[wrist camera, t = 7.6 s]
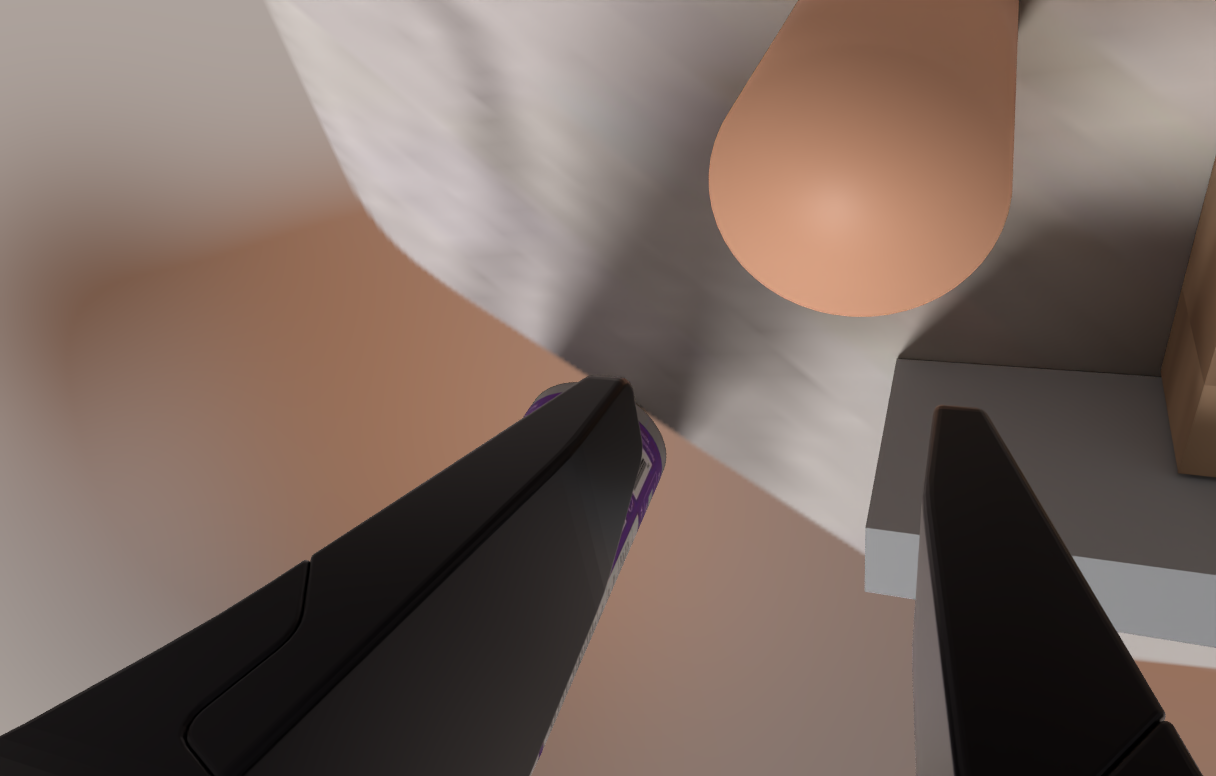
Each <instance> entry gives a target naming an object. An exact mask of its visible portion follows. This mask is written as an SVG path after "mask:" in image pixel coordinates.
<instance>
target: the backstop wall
mask: <svg viewBox="0 0 1216 776" xmlns="http://www.w3.org/2000/svg"><path fill="white" fill-rule="evenodd" d="M939 405H952V406H964V407H976V408H980V409H982V410H984V411H985V412H986V413H987V415H988V416H989V417H990V419H991V421H992V423H993V424H994V426H995V428H996V429H997V431H998V433H999V434H1000V436H1001V438H1002V439H1003V441H1004V443H1005V444H1006V446H1007V448H1008V449H1009V451H1010V453H1011V454H1012V456H1013V458H1014V460H1015V461H1016V463H1017V465H1018V466H1019V468H1020V470H1021V471H1022V473H1023V475H1024V476H1025V478H1026V480H1027V481H1028V483H1029V485H1030V486H1031V488H1032V490H1033V491H1034V493H1035V495H1036V497H1037V498H1038V500H1039V502H1040V503H1041V505H1042V507H1043V508H1044V510H1045V512H1046V513H1047V515H1048V517H1049V518H1050V520H1051V522H1052V523H1053V525H1054V527H1055V529H1056V530H1057V532H1058V534H1059V535H1060V537H1061V539H1062V540H1063V542H1064V544H1065V545H1066V547H1067V549H1068V550H1069V552H1070V554H1071V555H1072V557H1073V559H1074V560H1075V562H1076V564H1077V566H1078V567H1079V569H1080V571H1081V572H1082V574H1083V576H1084V577H1085V579H1086V581H1087V582H1088V584H1089V586H1090V587H1091V589H1092V591H1093V592H1094V594H1095V596H1096V597H1097V599H1098V601H1099V603H1100V604H1101V606H1102V608H1103V609H1104V611H1105V613H1106V614H1107V616H1108V618H1109V619H1110V621H1111V623H1112V624H1113V626H1114V628H1115V629H1116V631H1117V632H1121V633H1127V634H1133V635H1139V636H1146V637H1152V638H1158V639H1164V640H1171V641H1177V642H1183V643H1189V644H1195V645H1202V646H1208V647H1214V648H1216V477H1209V476H1199V475H1190V474H1180V473H1178V469H1177V463H1176V458H1175V452H1174V446H1173V440H1172V434H1171V429H1170V423H1169V417H1168V411H1167V406H1166V400H1165V394H1164V388H1163V382H1162V377H1152V376H1138V375H1124V374H1109V373H1095V372H1081V371H1066V370H1052V369H1037V368H1023V367H1009V366H994V365H980V364H966V363H951V362H937V361H922V360H908V359H897V360H896V365H895V371H894V376H893V382H892V387H891V393H890V398H889V403H888V409H887V414H886V420H885V425H884V431H883V436H882V441H881V447H880V452H879V458H878V463H877V469H876V474H875V479H874V485H873V490H872V496H871V501H870V507H869V512H868V517H867V523H866V537H865V592H871V593H878V594H884V595H890V596H896V597H902V598H910V599H916V584H917V569H918V553H919V538H920V522H921V507H922V492H923V480H924V473H925V466H926V458H927V451H928V444H929V436H930V429H931V422H932V414H933V411H934V409H935V408H936V407H937V406H939Z"/></svg>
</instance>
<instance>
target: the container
mask: <svg viewBox="0 0 1216 776" xmlns="http://www.w3.org/2000/svg"><path fill="white" fill-rule="evenodd" d="M576 383H578V382H573V383H564V384H559V385H556V386H553V387H551V388H549V389H547V390H546V391H544V392H542V393H541V394H540V395H539V396H538V397H537V398H536V399H535V401H534V402H533V404H532V405H531V407H530V408H529V409H528V411H527V412H526V414H525V416H527V415H529V414H530V413H532V412H533V411H535V410H536V409H538V408H539V407H541V406H542V405H544V404H545V403H547V402H549V401H550V400H552V399H553V398H555V397H556V396H558V395H559V394H561V393H562V392H564V391H565V390H567V389H568V388H570V387H572V386H573V385H575V384H576ZM636 409H637V414H638V420H639V425H640V431H641V436H642V447H643V450H642V459H641V464H640V468H639V472H638V476H637V479H636V483H635V486H634V490H633V494H632V497H631V501H630V505H629V508H628V512H627V515H626V519H625V523H624V526H623V530H622V533H621V537H620V541H619V544H618V548H617V551H616V555H615V559H614V562H613V566H612V570H611V573H610V576H609V580H608V583H607V586H606V589H605V592H604V595H603V598H602V600H601V603H600V606H599V608H598V611H597V614H596V616H595V618H594V621H593V623H592V626H591V628H590V631H589V633H588V635H587V638H586V640H585V643H584V645H583V648H582V650H581V653H580V655H579V657H578V660H577V662H576V665H575V667H574V670H573V672H572V674H571V677H570V679H569V682H568V684H567V687H566V689H565V691H564V694H563V696H562V699H561V701H560V704H559V706H558V708H557V711H556V713H555V716H554V718H553V721H552V723H551V725H550V728H549V730H548V733H547V735H546V738H545V740H544V743H543V745H542V747H541V750H540V752H539V755H538V757H537V760H536V762H535V764H534V767H533V769H532V772H533V770H534V768H535V766H536V764H537V761H538V760H539V757H540V755H541V753H542V750H543V748H544V746H545V743H546V741H547V739H548V737H549V734H550V732H551V730H552V727H553V725H554V723H555V720H556V718H557V716H558V713H559V711H560V709H561V706H562V704H563V702H564V700H565V697H566V695H567V693H568V690H569V688H570V686H571V683H572V681H573V679H574V676H575V674H576V672H577V670H578V667H579V665H580V663H581V660H582V658H583V655H584V653H585V651H586V649H587V647H588V644H589V642H590V640H591V637H592V635H593V633H594V630H595V628H596V626H597V623H598V621H599V619H600V616H601V614H602V612H603V610H604V607H605V605H606V603H607V600H608V598H609V596H610V593H611V591H612V589H613V586H614V584H615V582H616V580H617V577H618V575H619V573H620V570H621V568H622V566H623V563H624V561H625V559H626V556H627V554H628V552H629V549H630V547H631V545H632V542H633V540H634V538H635V536H636V533H637V531H638V529H639V526H640V524H641V522H642V519H643V517H644V515H645V512H646V510H647V508H648V506H649V503H650V501H651V499H652V496H653V494H654V492H655V489H656V487H657V485H658V483H659V480H660V477H661V475H662V472H663V470H664V467H665V463H666V448H665V444H664V441H663V438H662V436H661V433H660V431H659V430H658V428H657V426H656V425H655V423H654V422H653V421H652V419H651V418H650V417H649V416H648V415H647V414H646V413H645V411H644V410H642V409H641V408H640V407H639V406H638V405H636ZM525 416H524V417H525ZM524 417H523V418H524ZM532 772H531V774H532ZM531 774H530V776H531Z"/></svg>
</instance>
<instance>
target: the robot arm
mask: <svg viewBox="0 0 1216 776" xmlns="http://www.w3.org/2000/svg"><path fill="white" fill-rule="evenodd" d="M642 450H643V447H642V436H641V431H640V425H639V420H638V414H637V409H636V403H635V397H634V392H633V388H632V386H631V384H630V382H629V381H628V380H626V379H625V378H622V377H611V376H599V375H591V376H588V377H586V378H584V379H582V380H581V381H579V382H578V383H576V384H575V385H573V386H572V387H570V388H568V389H567V390H565V391H564V392H562V393H561V394H559V395H558V396H556V397H555V398H553V399H552V400H550V401H549V402H547V403H545V404H544V405H542V406H541V407H539V408H538V409H536V410H535V411H533V412H532V413H530V414H529V415H527V416H525V417H524V418H522V419H521V420H519V421H518V422H516V423H515V424H513V425H512V426H510V427H509V428H507V429H506V430H504V431H502V432H501V433H499V434H498V435H497V436H495V437H493V438H492V439H490V440H489V441H487V442H486V443H484V444H482V445H481V446H479V447H478V448H476V449H475V450H473V451H472V452H470V453H469V454H467V455H466V456H464V457H462V458H461V459H459V460H458V461H456V462H455V463H454V464H452V465H450V466H449V467H448V468H446V469H444V470H443V471H441V472H440V473H438V474H436V475H435V476H433V477H432V478H430V479H429V480H427V481H426V482H424V483H423V484H421V485H419V486H418V487H416V488H415V489H413V490H412V491H410V492H409V493H407V494H406V495H404V496H403V497H401V498H400V499H398V500H397V501H395V502H393V503H392V504H390V505H389V506H387V507H386V508H384V509H383V510H381V511H380V512H378V513H377V514H375V515H374V516H372V517H370V518H369V519H367V520H366V521H364V522H363V523H361V524H360V525H358V526H356V527H355V528H353V529H352V530H350V531H349V532H347V533H346V534H344V535H343V536H341V537H340V538H338V539H337V540H335V541H333V542H332V543H330V544H329V545H327V546H326V547H324V548H323V549H321V550H320V551H318V552H316V553H315V554H314V555H312V557H311V561H307V560H304V561H302V562H301V563H299V564H298V565H296V566H295V567H293V568H292V569H290V570H289V571H287V572H285V573H284V574H282V575H281V576H279V577H278V578H276V579H275V580H273V581H272V582H270V583H268V584H267V585H265V586H264V587H262V588H260V589H259V590H257V591H256V592H254V593H252V594H251V595H249V596H248V597H246V598H244V599H243V600H241V601H240V602H238V603H236V604H235V605H233V606H232V607H230V608H228V609H227V610H225V611H224V612H222V613H220V614H219V615H217V616H216V617H214V618H212V619H211V620H208V621H207V622H205V623H203V624H201V625H200V626H198V627H196V628H194V629H193V630H191V631H189V632H188V633H186V634H184V635H182V636H181V637H179V638H177V639H175V640H174V641H172V642H170V643H168V644H167V645H165V646H163V647H162V648H160V649H158V650H156V651H154V652H153V653H151V654H149V655H147V656H146V657H144V658H142V659H140V660H138V661H137V662H135V663H133V664H131V665H129V666H127V667H126V668H124V669H122V670H120V671H118V672H117V673H115V674H113V675H111V676H109V677H108V678H106V679H104V680H102V681H100V682H99V683H97V684H95V685H93V686H91V687H90V688H88V689H86V690H85V691H83V692H81V693H79V694H77V695H75V696H73V697H72V698H70V699H68V700H66V701H65V702H63V703H61V704H59V705H57V706H55V707H54V708H52V709H50V710H48V711H46V712H45V713H43V714H41V715H39V716H37V717H36V718H34V719H32V720H30V721H29V722H27V723H25V724H23V725H21V726H20V727H17V728H15V729H13V730H11V731H9V732H8V733H5V734H3V735H1V736H0V776H530V774H531V772H532V769H533V767H534V764H535V762H536V760H537V757H538V755H539V752H540V750H541V747H542V745H543V743H544V740H545V738H546V735H547V733H548V730H549V728H550V725H551V723H552V721H553V718H554V716H555V713H556V711H557V708H558V706H559V704H560V701H561V699H562V696H563V694H564V691H565V689H566V687H567V684H568V682H569V679H570V677H571V674H572V672H573V670H574V667H575V665H576V662H577V660H578V657H579V655H580V653H581V650H582V648H583V645H584V643H585V640H586V638H587V635H588V633H589V631H590V628H591V626H592V623H593V621H594V618H595V616H596V614H597V611H598V608H599V606H600V603H601V600H602V598H603V595H604V592H605V589H606V586H607V583H608V580H609V576H610V573H611V570H612V566H613V562H614V559H615V555H616V551H617V548H618V544H619V541H620V537H621V533H622V530H623V526H624V523H625V519H626V515H627V512H628V508H629V505H630V501H631V497H632V494H633V490H634V486H635V483H636V479H637V476H638V472H639V468H640V464H641V459H642ZM915 600H916V601H915V615H914V630H913V697H914V725H915V754H916V776H1203V775H1202V773H1201V772H1200V770H1199V768H1198V766H1197V765H1196V763H1195V761H1194V760H1193V758H1192V757H1191V755H1190V753H1189V751H1188V750H1187V748H1186V746H1185V745H1184V743H1183V741H1182V739H1181V738H1180V736H1179V734H1178V733H1177V731H1176V729H1175V728H1174V726H1173V725H1172V724H1171V723H1170V722H1168V721H1164V720H1165V712H1164V710H1163V709H1162V707H1161V705H1160V703H1159V702H1158V700H1157V698H1156V697H1155V695H1154V693H1153V692H1152V690H1151V688H1150V687H1149V685H1148V683H1147V682H1146V680H1145V678H1144V677H1143V675H1142V673H1141V671H1140V670H1139V668H1138V666H1137V665H1136V663H1135V661H1134V660H1133V658H1132V656H1131V655H1130V653H1129V651H1128V650H1127V648H1126V646H1125V645H1124V643H1123V641H1122V640H1121V638H1120V636H1119V634H1118V633H1117V631H1116V629H1115V628H1114V626H1113V624H1112V623H1111V621H1110V619H1109V618H1108V616H1107V614H1106V613H1105V611H1104V609H1103V608H1102V606H1101V604H1100V603H1099V601H1098V599H1097V597H1096V596H1095V594H1094V592H1093V591H1092V589H1091V587H1090V586H1089V584H1088V582H1087V581H1086V579H1085V577H1084V576H1083V574H1082V572H1081V571H1080V569H1079V567H1078V566H1077V564H1076V562H1075V560H1074V559H1073V557H1072V555H1071V554H1070V552H1069V550H1068V549H1067V547H1066V545H1065V544H1064V542H1063V540H1062V539H1061V537H1060V535H1059V534H1058V532H1057V530H1056V529H1055V527H1054V525H1053V523H1052V522H1051V520H1050V518H1049V517H1048V515H1047V513H1046V512H1045V510H1044V508H1043V507H1042V505H1041V503H1040V502H1039V500H1038V498H1037V497H1036V495H1035V493H1034V491H1033V490H1032V488H1031V486H1030V485H1029V483H1028V481H1027V480H1026V478H1025V476H1024V475H1023V473H1022V471H1021V470H1020V468H1019V466H1018V465H1017V463H1016V461H1015V460H1014V458H1013V456H1012V454H1011V453H1010V451H1009V449H1008V448H1007V446H1006V444H1005V443H1004V441H1003V439H1002V438H1001V436H1000V434H999V433H998V431H997V429H996V428H995V426H994V424H993V423H992V421H991V419H990V417H989V416H988V415H987V413H986V412H985V411H984V410H982V409H980V408H976V407H964V406H952V405H939V406H937V407H936V408H935V409H934V411H933V414H932V422H931V429H930V436H929V444H928V451H927V458H926V466H925V473H924V480H923V492H922V507H921V522H920V538H919V553H918V569H917V584H916V599H915Z"/></svg>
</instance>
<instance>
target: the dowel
mask: <svg viewBox="0 0 1216 776" xmlns="http://www.w3.org/2000/svg"><path fill="white" fill-rule="evenodd" d="M1018 14H1019V0H798V2H797V4H796V5H795V7H794V8H793V10H792V12H791V13H790V15H789V16H788V18H787V20H786V21H785V23H784V24H783V26H782V28H781V29H780V31H779V32H778V34H777V36H776V37H775V39H774V40H773V42H772V44H771V45H770V47H769V48H768V50H767V52H766V53H765V55H764V56H763V58H762V60H761V61H760V63H759V64H758V66H757V68H756V69H755V71H754V72H753V74H752V76H751V77H750V79H749V80H748V82H747V84H746V85H745V87H744V88H743V90H742V92H741V93H740V95H739V96H738V98H737V100H736V101H735V103H734V104H733V106H732V108H731V109H730V111H729V113H728V114H727V116H726V118H725V120H724V121H723V123H722V125H721V127H720V130H719V132H718V135H717V137H716V139H715V142H714V146H713V150H712V154H711V158H710V167H709V194H710V200H711V206H712V211H713V214H714V217H715V220H716V223H717V226H718V228H719V230H720V232H721V235H722V237H723V239H724V241H725V242H726V244H727V246H728V247H729V249H730V250H731V252H732V254H733V255H734V256H735V257H736V259H737V260H738V261H739V262H740V263H741V265H742V266H743V267H744V268H745V269H746V270H747V271H748V272H749V273H750V274H751V275H752V276H753V277H754V278H755V279H756V280H758V281H759V282H760V283H762V284H763V285H764V286H766V287H767V288H768V289H770V290H771V291H773V292H775V293H776V294H778V295H780V296H781V297H783V298H785V299H787V300H789V301H791V302H794V303H796V304H798V305H800V306H803V307H806V308H809V309H812V310H815V311H819V312H824V313H829V314H833V315H842V316H851V317H871V316H880V315H889V314H893V313H898V312H902V311H907V310H909V309H912V308H915V307H918V306H921V305H924V304H926V303H928V302H930V301H932V300H935V299H937V298H939V297H941V296H942V295H944V294H945V293H947V292H949V291H950V290H952V289H953V288H955V287H956V286H958V285H959V284H960V283H961V282H963V281H964V280H965V279H966V278H967V277H969V276H970V275H971V274H972V273H973V272H974V271H975V270H976V269H977V267H978V266H979V265H980V264H981V263H982V262H983V261H984V259H985V258H986V257H987V255H988V254H989V253H990V251H991V250H992V248H993V247H994V245H995V243H996V241H997V239H998V238H999V236H1000V234H1001V232H1002V230H1003V227H1004V224H1005V221H1006V218H1007V216H1008V213H1009V207H1010V202H1011V197H1012V180H1013V153H1014V125H1015V97H1016V69H1017V42H1018Z"/></svg>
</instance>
